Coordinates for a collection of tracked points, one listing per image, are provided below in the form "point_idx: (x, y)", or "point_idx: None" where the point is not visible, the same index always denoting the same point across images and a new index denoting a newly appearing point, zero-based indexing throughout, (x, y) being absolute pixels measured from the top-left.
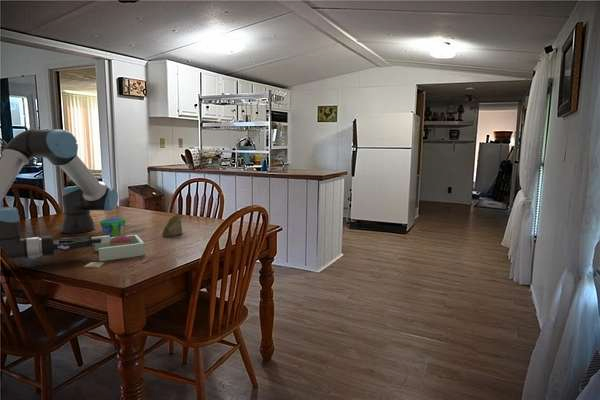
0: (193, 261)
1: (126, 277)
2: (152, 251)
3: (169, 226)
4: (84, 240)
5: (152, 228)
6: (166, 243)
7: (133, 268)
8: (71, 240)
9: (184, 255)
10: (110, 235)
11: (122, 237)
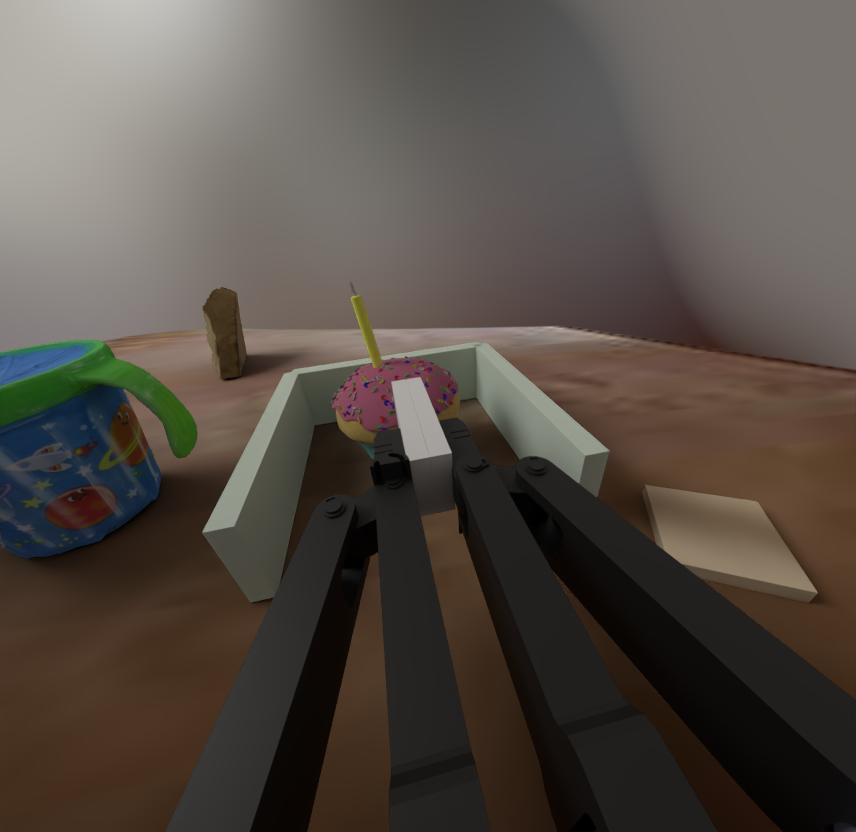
0: (571, 327)
1: (826, 400)
2: None
3: (235, 332)
4: (556, 502)
5: None
6: None
7: (684, 397)
8: (646, 720)
9: (509, 338)
10: (107, 475)
11: (417, 362)
